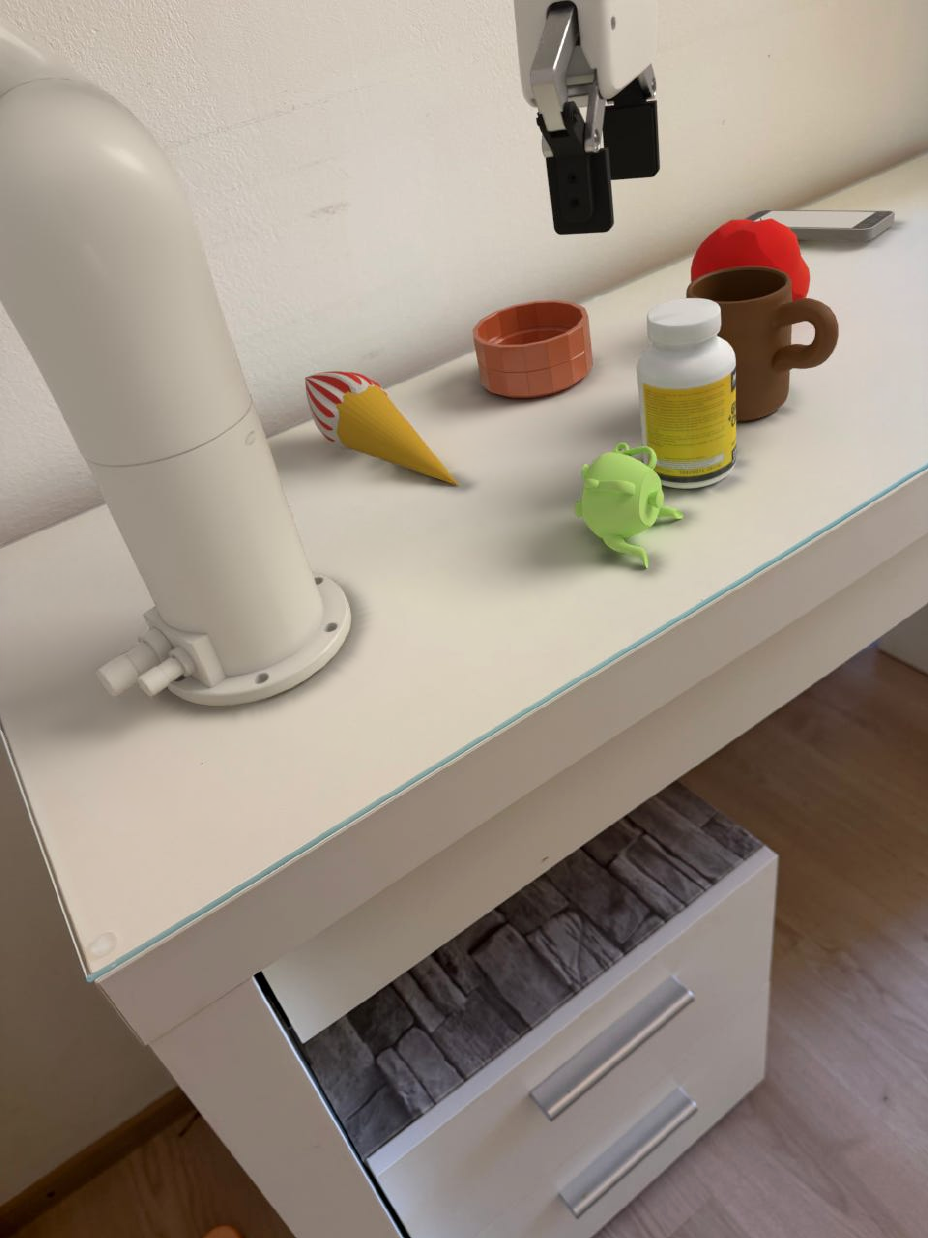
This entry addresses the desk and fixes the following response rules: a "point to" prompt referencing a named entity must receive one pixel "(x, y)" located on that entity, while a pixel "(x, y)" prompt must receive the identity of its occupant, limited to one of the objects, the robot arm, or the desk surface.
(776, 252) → the tomato
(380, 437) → the ice cream cone
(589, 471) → the multi-spout teapot
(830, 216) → the smartphone
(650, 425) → the pill bottle
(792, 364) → the mug
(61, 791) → the desk surface
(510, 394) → the bowl
